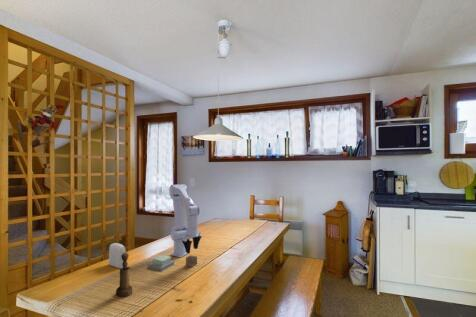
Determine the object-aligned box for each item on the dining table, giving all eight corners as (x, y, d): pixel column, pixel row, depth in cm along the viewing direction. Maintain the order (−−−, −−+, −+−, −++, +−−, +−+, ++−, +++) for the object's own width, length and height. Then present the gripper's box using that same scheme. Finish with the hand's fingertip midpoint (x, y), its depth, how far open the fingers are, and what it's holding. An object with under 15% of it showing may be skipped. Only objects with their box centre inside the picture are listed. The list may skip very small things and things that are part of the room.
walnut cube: (190, 262, 151) (190, 255, 151) (197, 264, 150) (197, 256, 150) (185, 265, 147) (186, 257, 147) (192, 267, 145) (192, 259, 146)
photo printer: (126, 266, 145) (126, 244, 145) (119, 269, 141) (119, 246, 141) (114, 262, 150) (115, 241, 150) (107, 265, 146) (108, 243, 146)
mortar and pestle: (134, 290, 119) (135, 250, 119) (129, 297, 112) (129, 255, 112) (119, 290, 119) (120, 250, 119) (113, 297, 112) (114, 255, 112)
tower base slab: (160, 262, 153) (160, 258, 153) (174, 265, 149) (174, 261, 149) (148, 268, 144) (148, 264, 144) (162, 272, 139) (162, 267, 139)
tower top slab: (161, 259, 151) (161, 254, 151) (171, 261, 148) (171, 256, 148) (152, 263, 145) (153, 258, 145) (162, 265, 142) (162, 261, 142)
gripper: (190, 230, 140) (190, 255, 140) (205, 224, 154) (204, 247, 153) (180, 229, 143) (179, 253, 143) (194, 223, 156) (194, 246, 156)
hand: (191, 250), depth 148 cm, fingers open, 7 cm apart
